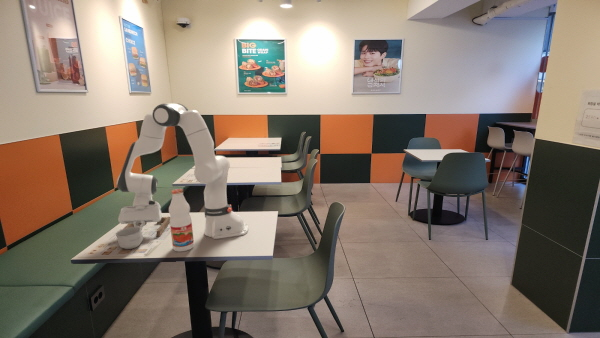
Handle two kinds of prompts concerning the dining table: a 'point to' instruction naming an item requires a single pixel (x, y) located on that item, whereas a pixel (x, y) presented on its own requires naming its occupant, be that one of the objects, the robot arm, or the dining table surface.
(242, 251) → the dining table surface
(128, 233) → the teacup
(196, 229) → the dining table surface
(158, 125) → the robot arm
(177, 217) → the fruit juice
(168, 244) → the dining table surface
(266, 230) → the dining table surface
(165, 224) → the wooden l-brackets
